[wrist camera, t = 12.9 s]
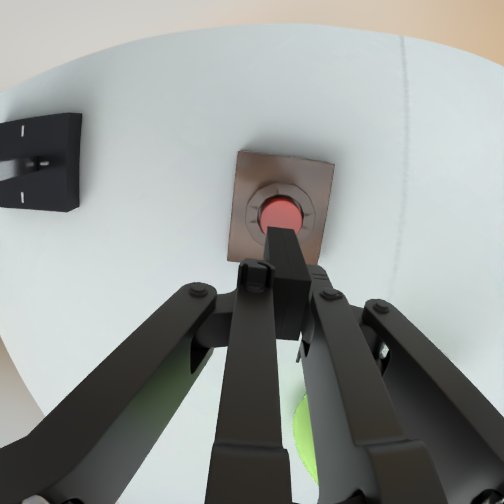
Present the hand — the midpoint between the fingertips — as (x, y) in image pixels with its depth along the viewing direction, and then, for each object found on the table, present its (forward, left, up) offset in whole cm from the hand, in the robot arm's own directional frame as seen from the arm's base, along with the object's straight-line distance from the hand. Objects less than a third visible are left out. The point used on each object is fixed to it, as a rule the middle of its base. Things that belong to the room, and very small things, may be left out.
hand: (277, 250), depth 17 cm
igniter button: (+1, +1, -14) cm, 14 cm away
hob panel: (-3, -32, -17) cm, 36 cm away
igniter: (+1, +1, -17) cm, 17 cm away
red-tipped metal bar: (-3, -32, -14) cm, 35 cm away
